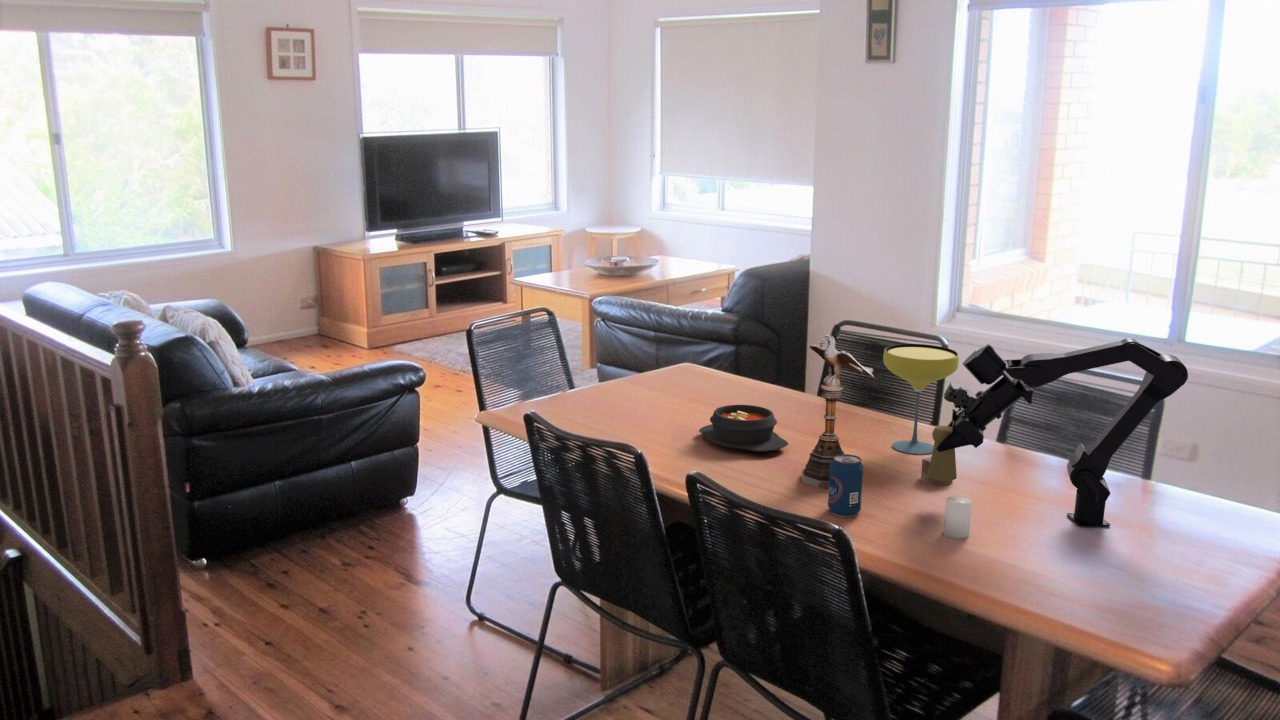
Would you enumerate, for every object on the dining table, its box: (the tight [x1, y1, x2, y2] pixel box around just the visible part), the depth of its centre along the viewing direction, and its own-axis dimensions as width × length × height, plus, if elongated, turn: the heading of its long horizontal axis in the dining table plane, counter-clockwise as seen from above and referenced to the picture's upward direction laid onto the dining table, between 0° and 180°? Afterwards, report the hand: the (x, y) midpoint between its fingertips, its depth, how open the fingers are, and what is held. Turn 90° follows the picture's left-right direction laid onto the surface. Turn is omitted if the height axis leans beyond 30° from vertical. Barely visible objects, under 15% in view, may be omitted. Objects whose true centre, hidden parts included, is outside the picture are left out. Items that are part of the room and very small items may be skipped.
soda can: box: [827, 453, 865, 518], centre depth 222 cm, size 7×7×12 cm
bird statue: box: [801, 333, 875, 489], centre depth 241 cm, size 17×13×35 cm
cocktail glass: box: [882, 343, 960, 456], centre depth 264 cm, size 18×18×25 cm
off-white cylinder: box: [942, 496, 973, 540], centre depth 212 cm, size 5×5×7 cm
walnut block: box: [920, 457, 954, 486], centre depth 243 cm, size 5×5×5 cm
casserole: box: [698, 404, 789, 453], centre depth 268 cm, size 25×19×8 cm
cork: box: [928, 425, 957, 482], centre depth 225 cm, size 6×6×11 cm
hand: (937, 446), depth 225 cm, fingers closed on cork, 5 cm apart
